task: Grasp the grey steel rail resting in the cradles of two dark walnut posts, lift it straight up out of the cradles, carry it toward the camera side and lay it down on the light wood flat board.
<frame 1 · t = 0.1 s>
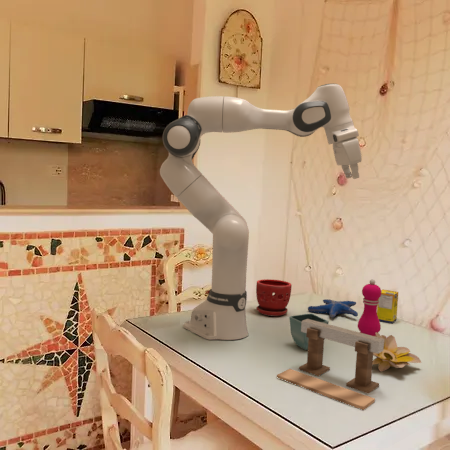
hand: (352, 178, 155), 52 cm above the table, tool tilted 20°, fingers open, 8 cm apart
pepper mill: (368, 340, 161), on the table
flower pot: (307, 347, 152), on the table
starfish: (332, 314, 189), on the table
steel rail: (340, 340, 128), point 10 cm above the table, touching walnut post 2, walnut post 1
supplement box: (386, 321, 184), on the table
decorative flower: (389, 369, 138), on the table
light wood flat board: (323, 389, 122), on the table
plant pot: (272, 313, 187), on the table
walnut post 1: (314, 369, 134), on the table
walnut post 2: (362, 386, 125), on the table
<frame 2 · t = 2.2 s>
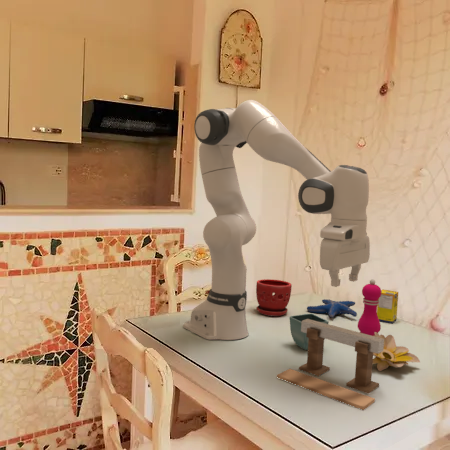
hand: (344, 283, 127), 25 cm above the table, tool pointing down, fingers open, 8 cm apart
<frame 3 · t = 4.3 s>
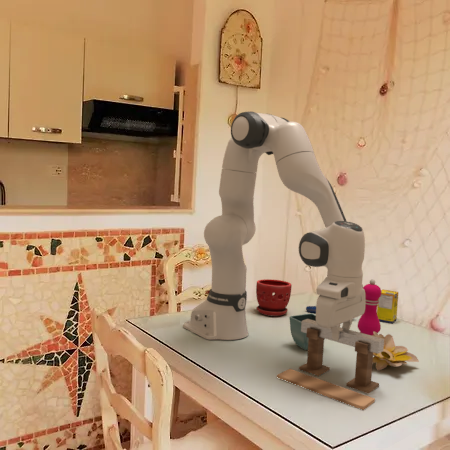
hand: (340, 337, 128), 11 cm above the table, tool pointing down, fingers closed on steel rail, 3 cm apart
steel rail: (340, 340, 128), point 10 cm above the table, touching gripper, walnut post 2, walnut post 1
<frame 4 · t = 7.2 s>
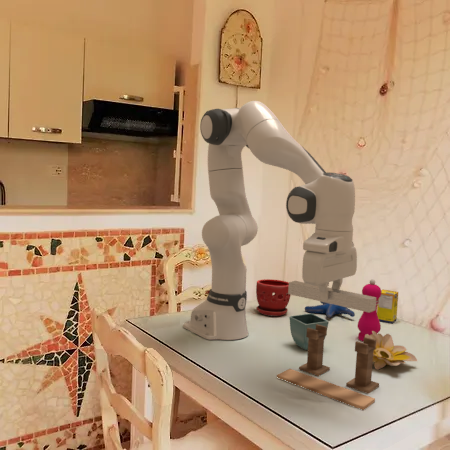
hand: (329, 298, 119), 23 cm above the table, tool pointing down, fingers closed on steel rail, 3 cm apart
steel rail: (329, 301, 120), point 22 cm above the table, touching gripper
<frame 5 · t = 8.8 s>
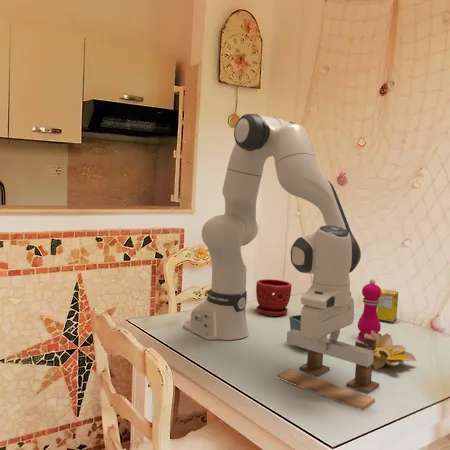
hand: (327, 349, 121), 10 cm above the table, tool pointing down, fingers closed on steel rail, 3 cm apart
steel rail: (327, 352, 121), point 9 cm above the table, touching gripper
when the fingers open (4 cm above the table, at t = 10.2 s): steel rail drops 2 cm, resting on light wood flat board.
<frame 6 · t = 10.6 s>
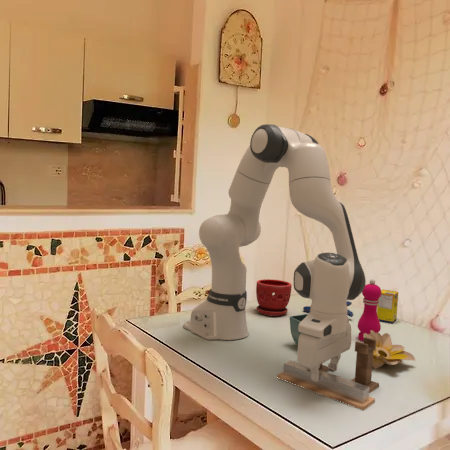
hand: (324, 375, 122), 4 cm above the table, tool pointing down, fingers open, 7 cm apart
steel rail: (323, 386, 122), point 1 cm above the table, touching light wood flat board
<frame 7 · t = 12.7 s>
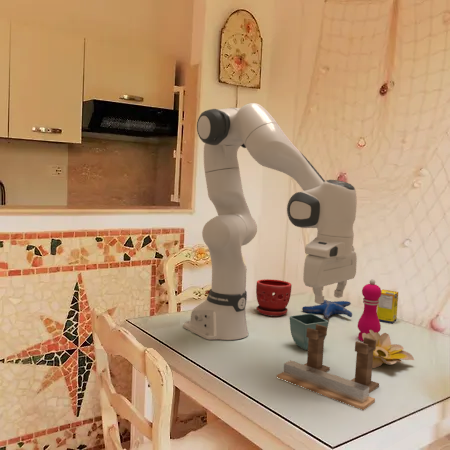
hand: (328, 299, 125), 21 cm above the table, tool pointing down, fingers open, 8 cm apart
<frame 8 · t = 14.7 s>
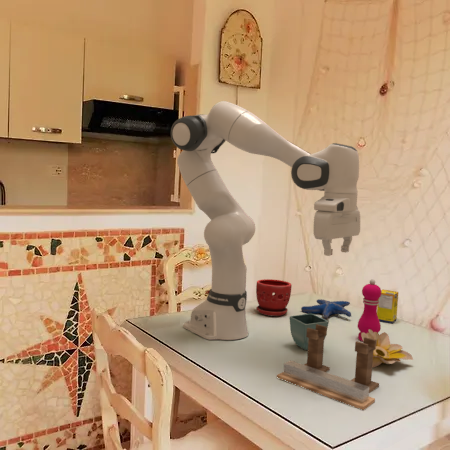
hand: (336, 253, 137), 31 cm above the table, tool pointing down, fingers open, 8 cm apart
at the end: steel rail inside the target area on the light wood flat board (0.0 cm from its centre), point 0.8 cm above the light wood flat board's base; steel rail point 0.8 cm above the table; the gripper is holding nothing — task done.
